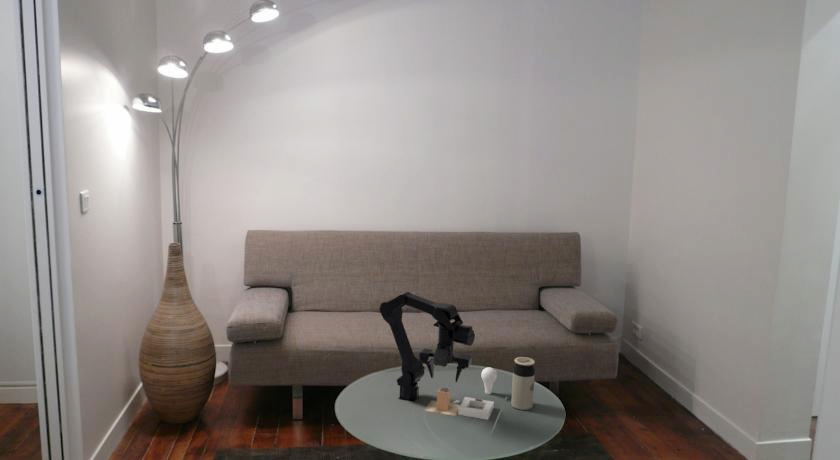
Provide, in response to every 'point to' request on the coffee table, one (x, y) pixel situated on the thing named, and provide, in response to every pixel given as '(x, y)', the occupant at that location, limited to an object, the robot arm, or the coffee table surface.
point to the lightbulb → (488, 379)
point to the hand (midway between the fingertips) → (444, 380)
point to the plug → (443, 398)
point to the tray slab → (451, 411)
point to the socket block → (476, 408)
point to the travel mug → (523, 383)
